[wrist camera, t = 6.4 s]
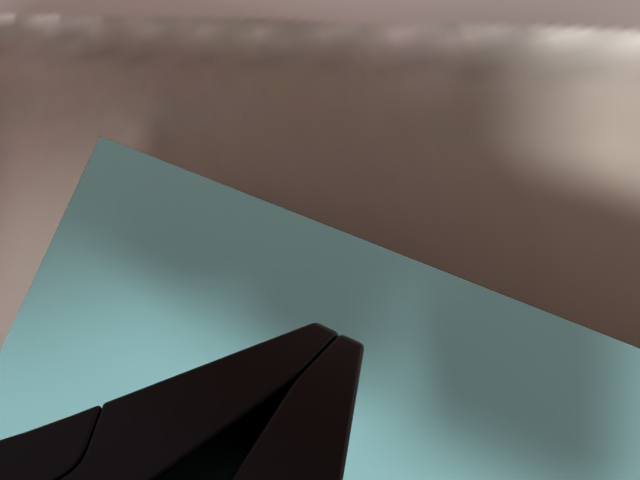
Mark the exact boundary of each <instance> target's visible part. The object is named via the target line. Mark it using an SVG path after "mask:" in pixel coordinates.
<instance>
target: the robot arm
mask: <svg viewBox="0 0 640 480" xmlns="http://www.w3.org/2000/svg"><path fill="white" fill-rule="evenodd" d="M363 353H364V345H363V344H362V343H360V342H358V341H356V340H354V339H352V338H350V337H347V336H345V335H338V333H337V332H336V331H334V330H332V329H330V328H328V327H326V326H324V325H322V324H319V323H311V324H308V325H306V326H303V327H300V328H298V329H295V330H293V331H290V332H288V333H285V334H282V335H280V336H277V337H275V338H272V339H269V340H267V341H264V342H262V343H259V344H256V345H254V346H251V347H249V348H246V349H243V350H241V351H238V352H236V353H233V354H230V355H228V356H225V357H223V358H220V359H217V360H215V361H212V362H210V363H207V364H204V365H202V366H199V367H197V368H194V369H191V370H189V371H186V372H184V373H181V374H178V375H176V376H173V377H171V378H168V379H165V380H163V381H160V382H158V383H155V384H152V385H150V386H147V387H145V388H142V389H140V390H137V391H134V392H132V393H129V394H127V395H124V396H121V397H119V398H116V399H114V400H111V401H108V402H106V403H104V404H103V406H102V408H101V406H95V407H92V408H90V409H87V410H84V411H82V412H79V413H77V414H74V415H71V416H69V417H66V418H63V419H60V420H58V421H55V422H52V423H49V424H47V425H44V426H41V427H38V428H35V429H33V430H30V431H27V432H24V433H21V434H18V435H15V436H11V437H8V438H5V439H2V440H0V480H343V477H344V470H345V464H346V458H347V452H348V446H349V439H350V433H351V427H352V421H353V415H354V408H355V402H356V396H357V390H358V384H359V377H360V371H361V365H362V359H363Z"/></svg>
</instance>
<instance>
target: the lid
mask: <svg viewBox="0 0 640 480" xmlns="http://www.w3.org/2000/svg"><path fill="white" fill-rule="evenodd" d="M311 323H319V324H322V325H324V326H326V327H328V328H330V329H332V330H334V331H336V332H337V333H338V335H345V336H347V337H350V338H352V339H354V340H356V341H358V342H360V343H362V344H363V345H364V353H363V359H362V365H361V371H360V377H359V384H358V390H357V396H356V402H355V408H354V415H353V421H352V427H351V433H350V439H349V446H348V452H347V458H346V464H345V470H344V477H343V480H640V348H637V347H634V346H632V345H629V344H627V343H624V342H622V341H619V340H617V339H614V338H612V337H609V336H607V335H604V334H602V333H599V332H596V331H594V330H591V329H589V328H586V327H584V326H581V325H579V324H576V323H574V322H571V321H569V320H566V319H563V318H561V317H558V316H556V315H553V314H551V313H548V312H546V311H543V310H541V309H538V308H536V307H533V306H530V305H528V304H525V303H523V302H520V301H518V300H515V299H513V298H510V297H508V296H505V295H503V294H500V293H498V292H495V291H492V290H490V289H487V288H485V287H482V286H480V285H477V284H475V283H472V282H470V281H467V280H465V279H462V278H459V277H457V276H454V275H452V274H449V273H447V272H444V271H442V270H439V269H437V268H434V267H432V266H429V265H426V264H424V263H421V262H419V261H416V260H414V259H411V258H409V257H406V256H404V255H401V254H399V253H396V252H394V251H391V250H388V249H386V248H383V247H381V246H378V245H376V244H373V243H371V242H368V241H366V240H363V239H361V238H358V237H355V236H353V235H350V234H348V233H345V232H343V231H340V230H338V229H335V228H333V227H330V226H328V225H325V224H322V223H320V222H317V221H315V220H312V219H310V218H307V217H305V216H302V215H300V214H297V213H295V212H292V211H289V210H287V209H284V208H282V207H279V206H277V205H274V204H272V203H269V202H267V201H264V200H262V199H259V198H257V197H254V196H251V195H249V194H246V193H244V192H241V191H239V190H236V189H234V188H231V187H229V186H226V185H224V184H221V183H218V182H216V181H213V180H211V179H208V178H206V177H203V176H201V175H198V174H196V173H193V172H191V171H188V170H185V169H183V168H180V167H178V166H175V165H173V164H170V163H168V162H165V161H163V160H160V159H158V158H155V157H153V156H150V155H147V154H145V153H142V152H140V151H137V150H135V149H132V148H130V147H127V146H125V145H122V144H120V143H117V142H114V141H112V140H109V139H107V138H104V137H102V136H100V138H99V140H98V142H97V144H96V146H95V148H94V151H93V153H92V155H91V157H90V159H89V161H88V164H87V166H86V168H85V170H84V172H83V174H82V176H81V179H80V181H79V183H78V185H77V187H76V189H75V191H74V194H73V196H72V198H71V200H70V202H69V204H68V207H67V209H66V211H65V213H64V215H63V217H62V219H61V222H60V224H59V226H58V228H57V230H56V232H55V234H54V237H53V239H52V241H51V243H50V245H49V247H48V250H47V252H46V254H45V256H44V258H43V260H42V262H41V265H40V267H39V269H38V271H37V273H36V275H35V277H34V280H33V282H32V284H31V286H30V288H29V290H28V293H27V295H26V297H25V299H24V301H23V303H22V305H21V308H20V310H19V312H18V314H17V316H16V318H15V321H14V323H13V325H12V327H11V329H10V331H9V333H8V336H7V338H6V340H5V342H4V344H3V346H2V348H1V351H0V439H1V440H2V439H5V438H8V437H11V436H15V435H18V434H21V433H24V432H27V431H30V430H33V429H35V428H38V427H41V426H44V425H47V424H49V423H52V422H55V421H58V420H60V419H63V418H66V417H69V416H71V415H74V414H77V413H79V412H82V411H84V410H87V409H90V408H92V407H95V406H101V408H102V406H103V404H104V403H106V402H108V401H111V400H114V399H116V398H119V397H121V396H124V395H127V394H129V393H132V392H134V391H137V390H140V389H142V388H145V387H147V386H150V385H152V384H155V383H158V382H160V381H163V380H165V379H168V378H171V377H173V376H176V375H178V374H181V373H184V372H186V371H189V370H191V369H194V368H197V367H199V366H202V365H204V364H207V363H210V362H212V361H215V360H217V359H220V358H223V357H225V356H228V355H230V354H233V353H236V352H238V351H241V350H243V349H246V348H249V347H251V346H254V345H256V344H259V343H262V342H264V341H267V340H269V339H272V338H275V337H277V336H280V335H282V334H285V333H288V332H290V331H293V330H295V329H298V328H300V327H303V326H306V325H308V324H311Z"/></svg>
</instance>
